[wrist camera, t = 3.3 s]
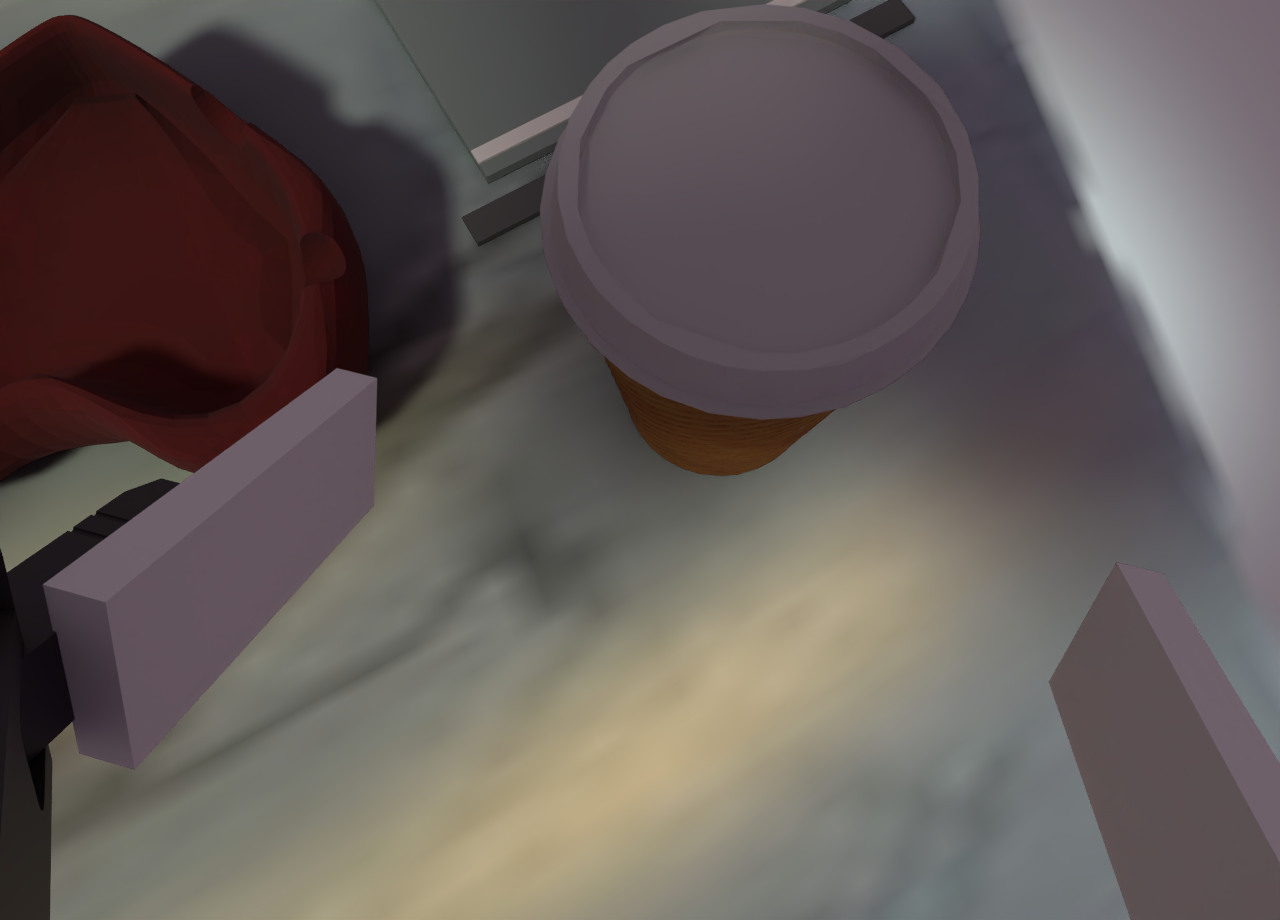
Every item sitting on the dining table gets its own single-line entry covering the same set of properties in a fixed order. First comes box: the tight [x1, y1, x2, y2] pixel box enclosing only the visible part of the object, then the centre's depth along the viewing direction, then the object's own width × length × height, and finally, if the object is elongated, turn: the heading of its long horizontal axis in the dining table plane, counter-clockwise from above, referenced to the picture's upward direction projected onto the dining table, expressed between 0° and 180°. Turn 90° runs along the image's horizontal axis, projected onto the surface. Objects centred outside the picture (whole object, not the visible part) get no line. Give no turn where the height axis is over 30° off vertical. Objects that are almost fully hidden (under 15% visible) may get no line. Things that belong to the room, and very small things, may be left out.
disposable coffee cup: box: [540, 4, 981, 476], centre depth 23 cm, size 10×10×12 cm
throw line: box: [462, 0, 915, 246], centre depth 31 cm, size 1×19×1 cm, turn 121°
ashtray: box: [0, 15, 369, 481], centre depth 28 cm, size 18×16×5 cm
